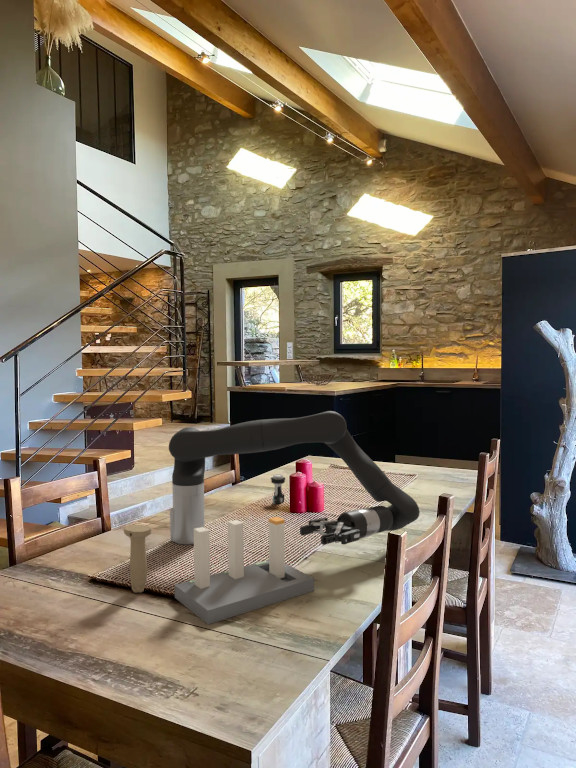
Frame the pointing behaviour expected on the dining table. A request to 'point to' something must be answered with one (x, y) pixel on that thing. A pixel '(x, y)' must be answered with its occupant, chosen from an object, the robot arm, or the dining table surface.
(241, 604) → the three peg stand
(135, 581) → the handle
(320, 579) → the dining table surface
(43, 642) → the dining table surface
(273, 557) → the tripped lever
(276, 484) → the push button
